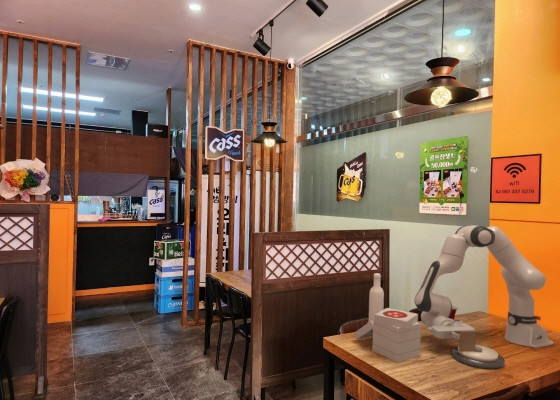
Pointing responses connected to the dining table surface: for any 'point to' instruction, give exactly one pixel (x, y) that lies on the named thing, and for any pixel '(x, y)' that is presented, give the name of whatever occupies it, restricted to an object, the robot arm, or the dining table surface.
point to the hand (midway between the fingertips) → (464, 337)
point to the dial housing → (478, 364)
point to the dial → (474, 348)
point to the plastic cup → (453, 312)
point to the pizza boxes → (393, 334)
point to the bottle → (376, 298)
